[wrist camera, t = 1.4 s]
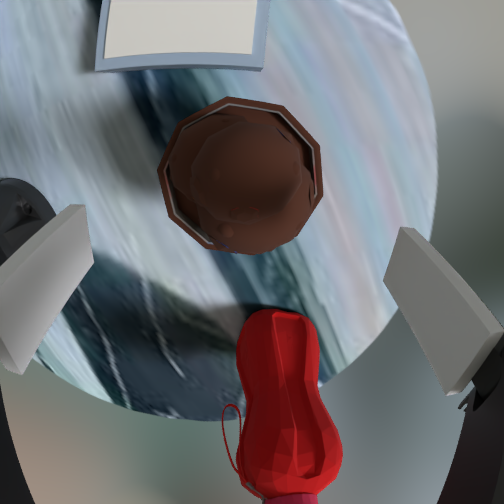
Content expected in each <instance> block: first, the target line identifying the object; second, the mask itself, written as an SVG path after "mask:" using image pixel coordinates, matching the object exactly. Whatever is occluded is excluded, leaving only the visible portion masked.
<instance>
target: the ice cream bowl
mask: <svg viewBox="0 0 504 504" xmlns="http://www.w3.org/2000/svg"><path fill="white" fill-rule="evenodd" d="M157 172H158V176H159V180H160V185H161V189H162V193H163V197H164V200H165V204H166V208H167V212H168V216H169V218H170V219H171V220H172V221H174V222H175V223H176V224H177V225H178V226H179V227H181V228H182V229H183V230H184V231H185V232H186V233H188V234H189V235H190V236H191V237H192V238H194V239H195V240H196V241H197V242H198V243H199V244H201V245H202V246H203V247H204V248H205V249H212V250H219V251H225V252H230V253H236V254H237V253H240V254H247V255H255V254H262V253H264V252H266V251H272V250H274V249H275V248H276V247H278V246H280V245H283V244H285V243H287V242H289V241H291V240H292V239H293V238H294V237H296V236H298V234H299V233H300V231H301V229H302V228H303V226H304V225H305V223H306V222H307V220H308V219H309V217H310V216H311V214H312V212H313V211H314V209H315V208H316V206H317V205H318V203H319V202H320V200H321V198H322V197H323V182H322V167H321V154H320V145H319V144H318V143H317V142H316V141H315V140H314V138H313V137H312V136H311V135H310V134H309V133H308V132H307V131H306V130H305V128H304V127H303V126H302V125H301V124H300V123H299V122H298V121H297V120H296V119H295V118H294V117H293V115H292V114H291V113H290V112H289V111H288V110H287V109H286V108H285V107H284V106H282V105H277V104H271V103H266V102H260V101H254V100H248V99H242V98H235V97H228V96H227V97H225V98H223V99H221V100H219V101H217V102H215V103H213V104H211V105H209V106H207V107H206V108H204V109H202V110H200V111H198V112H196V113H194V114H192V115H191V116H189V117H187V118H185V119H183V120H182V121H180V122H178V124H177V126H176V128H175V130H174V132H173V134H172V137H171V139H170V141H169V143H168V146H167V148H166V150H165V152H164V155H163V157H162V159H161V162H160V164H159V167H158V169H157Z"/></svg>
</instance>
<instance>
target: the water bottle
mask: <svg viewBox="0 0 504 504" xmlns="http://www.w3.org/2000/svg"><path fill="white" fill-rule="evenodd" d="M319 353H320V351H319V343H318V338H317V332H316V329H315V327H314V325H313V324H312V322H311V321H310V320H309V318H307V317H305V316H303V315H301V314H298V313H291V312H285V311H282V310H279V309H262V310H260V311H257V312H255V313H252V315H251V316H250V317H249V318H248V319H247V321H246V322H245V323H244V326H243V328H242V331H241V333H240V336H239V339H238V342H237V349H236V365H237V369H238V372H239V376H240V380H241V383H242V387H243V390H244V394H245V398H246V401H247V404H246V417H245V421H244V425H243V430H242V433H241V415H240V411H239V409H238V408H237V406H235V405H233V404H228V405H226V407H228V406H232V407H234V408H235V409H236V410H237V411H238V414H239V420H240V437H239V445H238V449H237V453H236V464H237V468H238V470H237V469H236V468H235V466H234V464H233V462H232V459H231V456H230V453H229V450H228V446H227V442H226V438H225V433H224V427H223V414H224V410H225V408H226V407H225V408H224V410H223V413H222V430H223V436H224V441H225V445H226V449H227V452H228V456H229V459H230V462H231V464H232V467H233V468H234V470H235V471H236V472H237V473H238V474H239V477H240V481H241V484H242V486H243V487H244V488H246V489H247V490H248V491H249V492H251V493H252V494H253V495H254V496H256V497H258V498H261V500H262V504H318V500H317V494H318V493H319V492H321V491H322V490H323V489H324V488H325V487H327V486H328V485H329V484H330V483H331V482H332V481H333V480H335V479H336V477H337V474H338V472H339V469H340V467H341V463H342V457H343V451H342V444H341V440H340V437H339V434H338V430H337V428H336V426H335V425H334V423H333V421H332V419H331V417H330V415H329V413H328V411H327V410H326V408H325V406H324V404H323V402H322V400H321V398H320V394H319V390H318V386H317V384H318V370H319Z"/></svg>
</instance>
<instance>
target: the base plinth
mask: <svg viewBox="0 0 504 504" xmlns="http://www.w3.org/2000/svg"><path fill="white" fill-rule="evenodd" d="M269 7H270V0H103V1H102V7H101V13H100V21H99V29H98V37H97V47H96V59H95V71H98V72H111V73H114V72H124V71H135V70H150V69H175V68H209V69H234V70H248V71H260V72H261V70H262V69H263V66H264V56H265V46H266V36H267V27H268V17H269Z"/></svg>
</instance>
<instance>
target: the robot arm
mask: <svg viewBox="0 0 504 504" xmlns="http://www.w3.org/2000/svg"><path fill="white" fill-rule="evenodd" d="M93 263H94V260H93V254H92V249H91V243H90V237H89V231H88V224H87V217H86V209H85V205H76V204H70V205H69V206H68V207H66V208H65V209H64V210H63V211H61V212H60V213H59V214H58V215H56V214H55V212H54V210H53V208H52V207H51V205H50V204H49V202H48V201H47V200H46V199H45V197H44V196H43V195H42V194H41V193H40V192H39V191H38V190H37V189H36V188H34V187H33V186H32V185H30V184H28V183H26V182H24V181H22V180H19V179H5V180H2V181H0V360H1V362H2V364H3V365H4V367H5V368H6V369H7V370H9V371H12V372H15V373H17V374H20V375H23V373H24V371H25V369H26V368H27V366H28V364H29V362H30V360H31V359H32V357H33V355H34V353H35V352H36V350H37V348H38V346H39V345H40V343H41V341H42V340H43V338H44V336H45V335H46V333H47V331H48V330H49V328H50V327H51V325H52V323H53V322H54V320H55V319H56V317H57V315H58V314H59V312H60V311H61V309H62V308H63V306H64V305H65V303H66V302H67V300H68V299H69V297H70V296H71V294H72V293H73V291H74V290H75V288H76V287H77V286H78V284H79V283H80V281H81V280H82V278H83V277H84V276H85V274H86V273H87V271H88V270H89V269H90V267H91V266H92V265H93ZM383 282H384V284H385V285H386V287H387V288H388V290H389V292H390V293H391V295H392V297H393V298H394V300H395V302H396V303H397V305H398V307H399V309H400V310H401V312H402V314H403V315H404V317H405V319H406V321H407V322H408V324H409V326H410V328H411V329H412V331H413V333H414V335H415V336H416V339H417V340H418V342H419V344H420V346H421V348H422V350H423V352H424V353H425V355H426V357H427V359H428V361H429V363H430V365H431V367H432V369H433V371H434V373H435V375H436V377H437V379H438V381H439V383H440V385H441V387H442V389H443V391H444V393H445V395H446V396H448V395H452V394H456V393H460V392H462V391H463V390H464V388H465V387H466V386H467V385H468V383H469V382H470V381H471V380H472V382H473V384H474V385H475V387H474V388H473V389H472V390H471V392H470V393H469V394H468V395H467V396H466V398H465V399H464V400H463V401H462V402H461V404H460V405H459V407H458V409H461V408H462V407H463V405H465V404H466V403H468V405H467V407H466V408H465V409H464V411H465V412H466V413H465V418H464V422H463V427H462V430H461V434H460V438H459V441H458V445H457V449H456V452H455V455H454V459H453V462H452V464H451V468H450V471H449V473H448V476H447V479H446V482H445V484H444V487H443V490H442V492H441V495H440V497H439V500H438V502H437V504H504V328H503V326H502V325H501V324H500V322H499V321H498V320H497V319H496V317H495V316H494V315H493V314H492V312H490V310H489V309H488V307H487V306H486V305H485V304H484V303H483V301H482V300H481V299H480V298H479V296H478V295H477V294H475V292H474V291H473V290H472V289H471V288H470V287H469V285H468V284H467V283H466V282H465V281H464V280H463V279H462V277H461V276H460V275H459V274H458V273H457V272H456V271H455V270H454V269H453V267H452V266H451V265H450V264H449V263H448V262H447V261H446V260H445V259H444V258H443V257H442V256H441V255H440V254H439V253H438V252H437V251H436V249H434V247H433V246H432V245H431V244H430V243H429V242H428V241H427V240H426V239H425V238H424V237H423V236H422V235H421V234H420V233H419V232H418V231H417V230H416V229H415V228H408V227H400V229H399V233H398V236H397V239H396V243H395V246H394V249H393V252H392V255H391V258H390V261H389V264H388V267H387V270H386V273H385V276H384V279H383ZM0 504H35V502H34V500H33V498H32V495H31V493H30V490H29V488H28V485H27V483H26V480H25V478H24V475H23V472H22V469H21V466H20V463H19V460H18V457H17V454H16V451H15V448H14V444H13V440H12V437H11V433H10V429H9V425H8V421H7V417H6V412H5V408H4V403H3V398H2V392H1V386H0Z"/></svg>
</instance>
